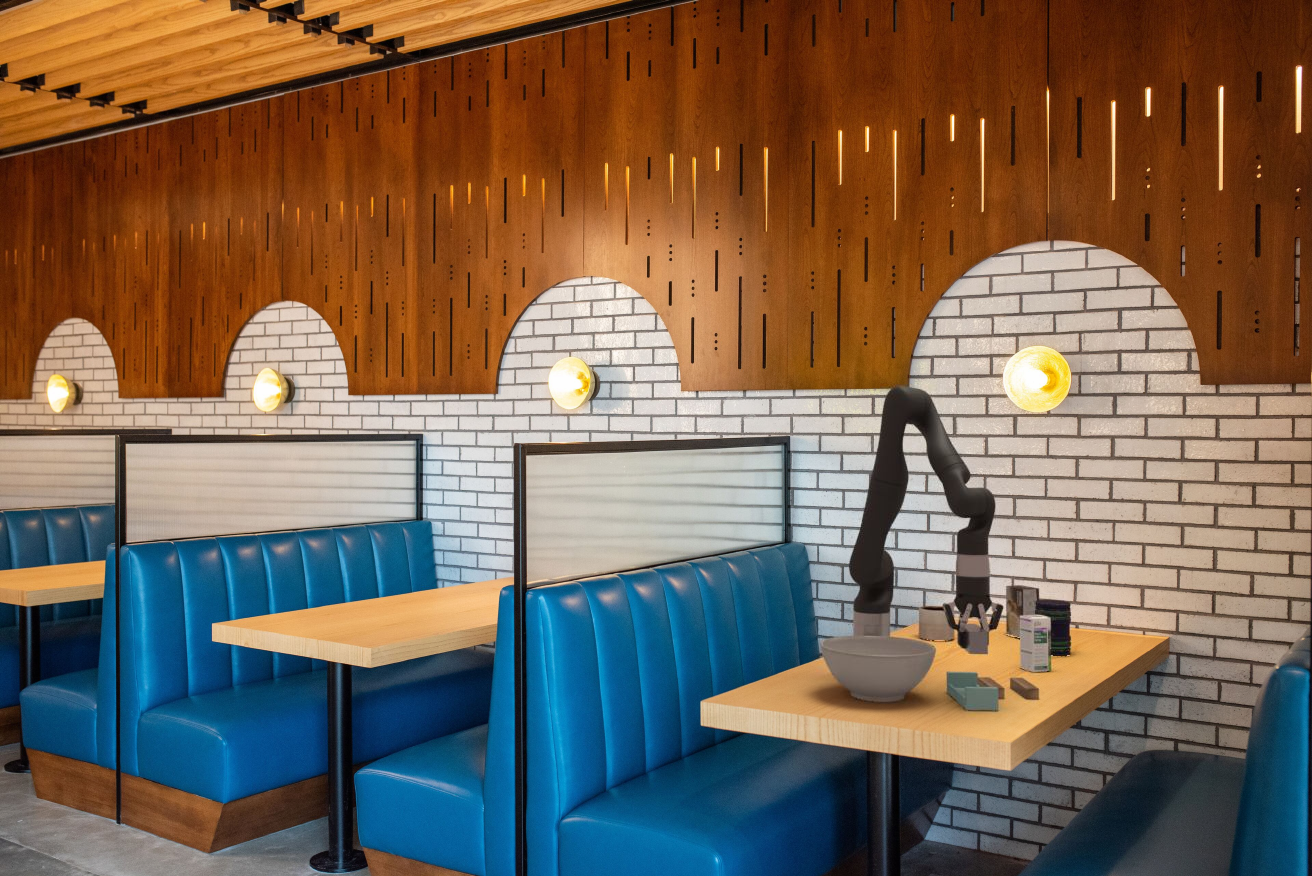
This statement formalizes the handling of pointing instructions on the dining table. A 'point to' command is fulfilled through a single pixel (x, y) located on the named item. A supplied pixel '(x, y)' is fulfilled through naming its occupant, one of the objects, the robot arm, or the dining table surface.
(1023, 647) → the syrup box
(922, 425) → the robot arm
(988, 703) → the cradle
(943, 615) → the planter
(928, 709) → the dining table surface
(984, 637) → the grey rectangular block
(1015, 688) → the slotted beam
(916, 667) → the decorative bowl
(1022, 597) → the coffee box
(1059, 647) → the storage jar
